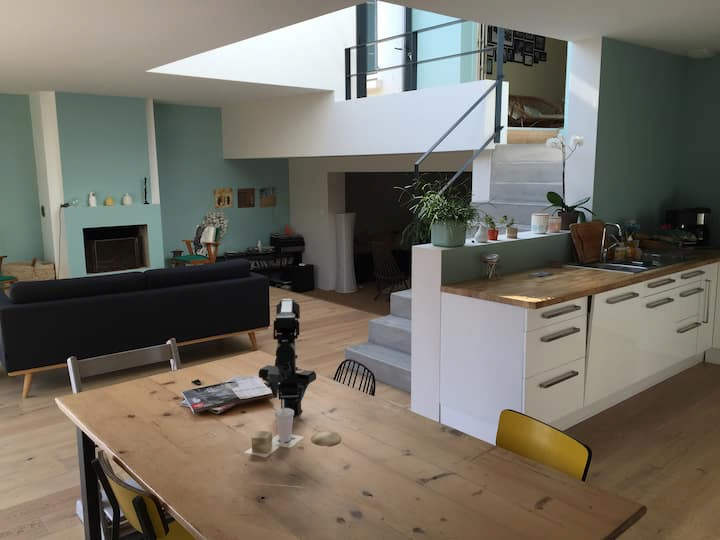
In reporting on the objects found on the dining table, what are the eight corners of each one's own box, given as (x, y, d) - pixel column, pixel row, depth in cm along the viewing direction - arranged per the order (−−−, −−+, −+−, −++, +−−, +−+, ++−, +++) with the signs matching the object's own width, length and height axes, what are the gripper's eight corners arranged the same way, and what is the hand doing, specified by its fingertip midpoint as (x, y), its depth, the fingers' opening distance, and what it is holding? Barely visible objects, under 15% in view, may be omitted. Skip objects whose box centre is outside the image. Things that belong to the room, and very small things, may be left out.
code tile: (266, 443, 195) (266, 442, 195) (281, 432, 203) (281, 431, 203) (290, 448, 191) (290, 447, 191) (304, 437, 199) (304, 436, 199)
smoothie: (271, 441, 196) (270, 400, 194) (282, 433, 201) (281, 394, 199) (287, 445, 193) (286, 404, 191) (298, 437, 199) (297, 397, 196)
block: (252, 452, 188) (251, 437, 188) (257, 445, 193) (256, 430, 192) (267, 453, 188) (266, 438, 187) (272, 446, 192) (271, 431, 192)
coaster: (305, 442, 195) (305, 441, 195) (320, 430, 204) (320, 429, 204) (332, 448, 191) (332, 447, 191) (346, 435, 200) (346, 434, 200)
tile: (244, 453, 188) (244, 452, 188) (258, 442, 196) (258, 442, 196) (265, 457, 185) (265, 457, 185) (279, 447, 192) (279, 446, 192)
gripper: (248, 357, 191) (250, 404, 193) (299, 363, 183) (300, 412, 186) (267, 348, 201) (268, 393, 203) (316, 354, 193) (317, 400, 196)
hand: (287, 399), depth 197 cm, fingers open, 9 cm apart
